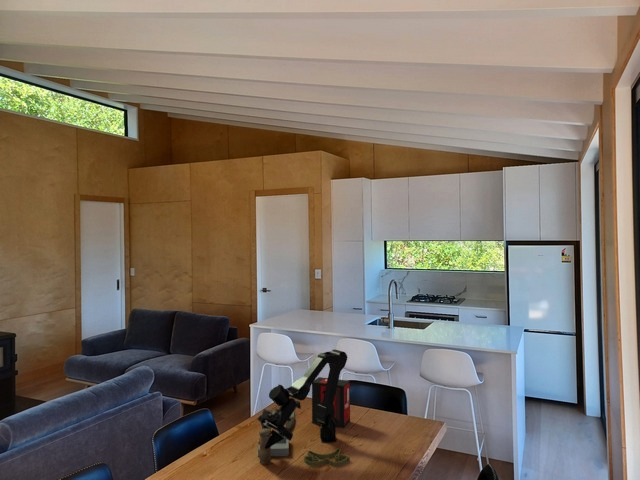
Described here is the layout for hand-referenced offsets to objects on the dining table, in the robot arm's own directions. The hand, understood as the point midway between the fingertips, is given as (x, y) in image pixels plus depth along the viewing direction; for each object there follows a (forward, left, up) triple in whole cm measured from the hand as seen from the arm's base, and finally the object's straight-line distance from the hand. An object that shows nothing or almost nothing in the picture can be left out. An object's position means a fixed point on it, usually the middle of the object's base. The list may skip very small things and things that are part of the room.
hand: (262, 446), depth 177 cm
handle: (-1, -1, -7) cm, 7 cm away
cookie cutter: (-26, -1, -7) cm, 27 cm away
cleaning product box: (-31, -39, -7) cm, 50 cm away
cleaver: (-9, -44, -7) cm, 45 cm away
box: (-4, -12, -7) cm, 14 cm away
